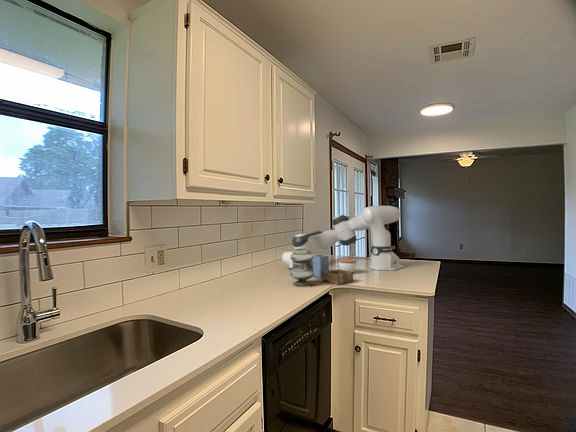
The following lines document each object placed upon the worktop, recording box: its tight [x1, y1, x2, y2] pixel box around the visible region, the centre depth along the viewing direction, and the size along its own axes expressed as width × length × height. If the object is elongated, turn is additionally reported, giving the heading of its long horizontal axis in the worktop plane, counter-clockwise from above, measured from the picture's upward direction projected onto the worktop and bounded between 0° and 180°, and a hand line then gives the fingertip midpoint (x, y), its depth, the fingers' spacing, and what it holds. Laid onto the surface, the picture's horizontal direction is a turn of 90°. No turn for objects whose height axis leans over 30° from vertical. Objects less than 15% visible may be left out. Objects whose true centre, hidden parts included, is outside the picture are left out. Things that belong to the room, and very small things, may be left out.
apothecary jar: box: [290, 248, 315, 288], centre depth 166 cm, size 12×12×18 cm
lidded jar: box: [337, 256, 358, 273], centre depth 192 cm, size 11×11×9 cm
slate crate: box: [312, 254, 330, 280], centre depth 181 cm, size 6×6×12 cm
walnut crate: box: [322, 268, 354, 286], centre depth 171 cm, size 11×11×5 cm
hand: (316, 264), depth 184 cm, fingers open, 8 cm apart
